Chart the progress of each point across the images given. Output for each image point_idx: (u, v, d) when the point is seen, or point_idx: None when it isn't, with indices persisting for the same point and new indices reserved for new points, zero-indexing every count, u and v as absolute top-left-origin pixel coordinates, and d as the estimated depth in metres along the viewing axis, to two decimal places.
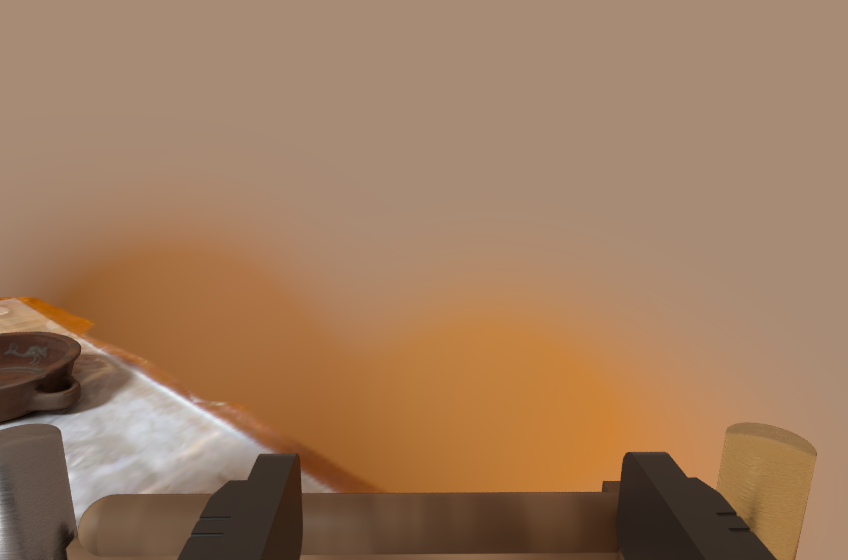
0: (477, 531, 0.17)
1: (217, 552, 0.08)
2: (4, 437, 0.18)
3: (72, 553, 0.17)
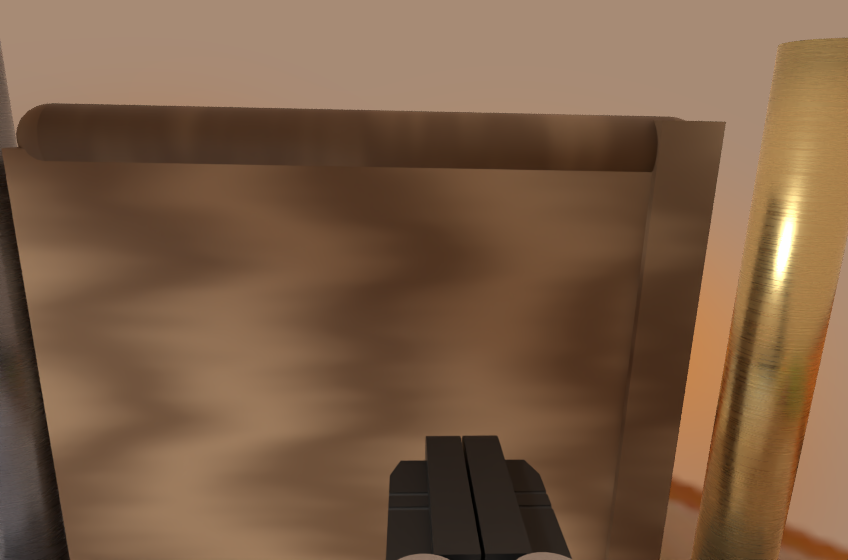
0: (488, 135, 0.15)
1: (434, 521, 0.09)
2: None
3: (9, 154, 0.15)
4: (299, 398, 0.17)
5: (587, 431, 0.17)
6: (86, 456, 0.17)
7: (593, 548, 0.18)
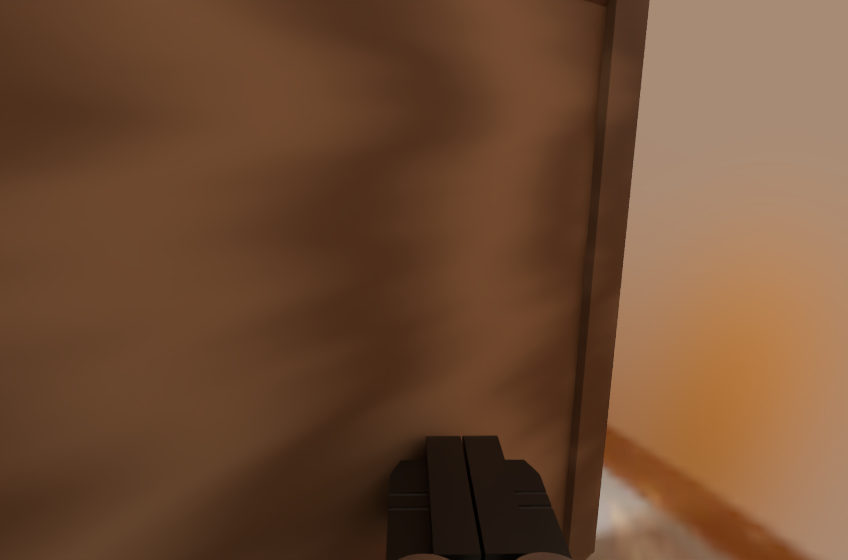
0: None
1: (434, 521, 0.09)
2: None
3: None
4: (263, 379, 0.09)
5: (560, 322, 0.15)
6: None
7: (561, 455, 0.16)
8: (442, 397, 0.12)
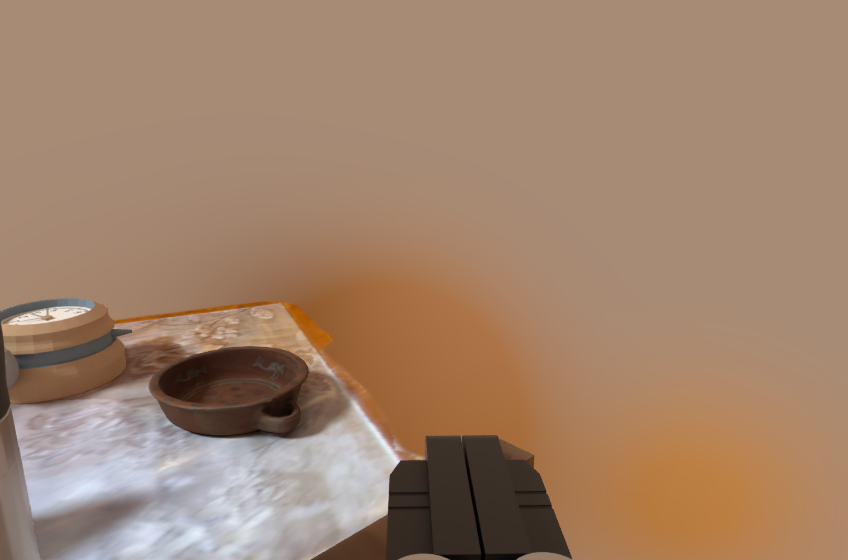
0: None
1: (434, 521, 0.09)
2: None
3: None
4: None
5: None
6: None
7: None
8: None
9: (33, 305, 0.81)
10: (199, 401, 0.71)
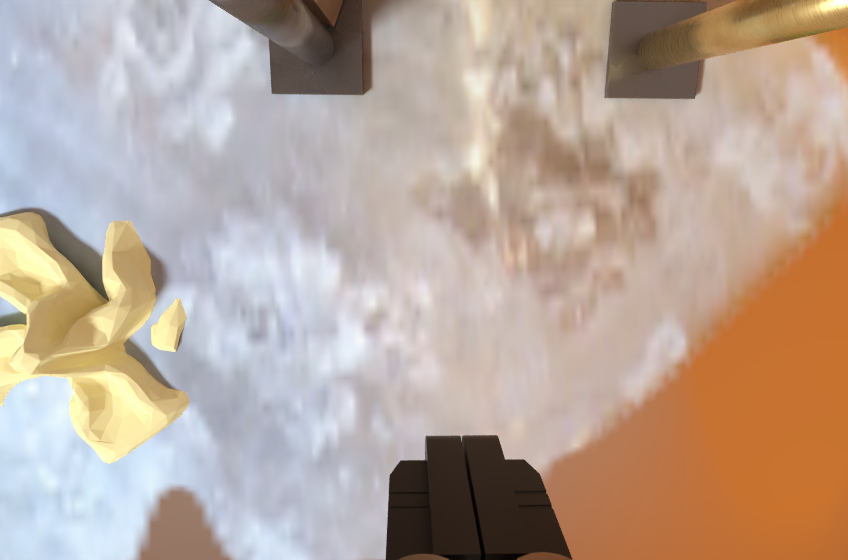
0: None
1: (434, 521, 0.09)
2: None
3: None
4: None
5: None
6: None
7: None
8: None
9: None
10: None
